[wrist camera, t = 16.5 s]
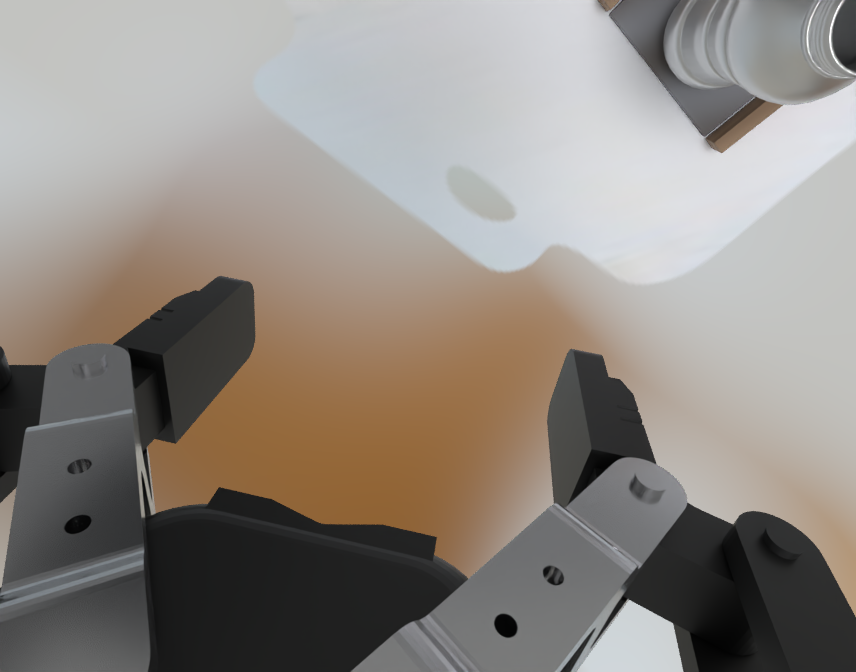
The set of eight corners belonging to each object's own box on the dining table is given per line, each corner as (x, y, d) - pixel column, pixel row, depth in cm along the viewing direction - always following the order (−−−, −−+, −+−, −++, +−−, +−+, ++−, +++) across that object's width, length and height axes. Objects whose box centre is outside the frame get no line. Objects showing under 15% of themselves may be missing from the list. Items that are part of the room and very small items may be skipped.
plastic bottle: (698, 107, 37) (853, 158, 20) (634, 42, 36) (741, 37, 19) (780, 26, 34) (1046, 5, 17) (714, -49, 33) (929, -154, 16)
